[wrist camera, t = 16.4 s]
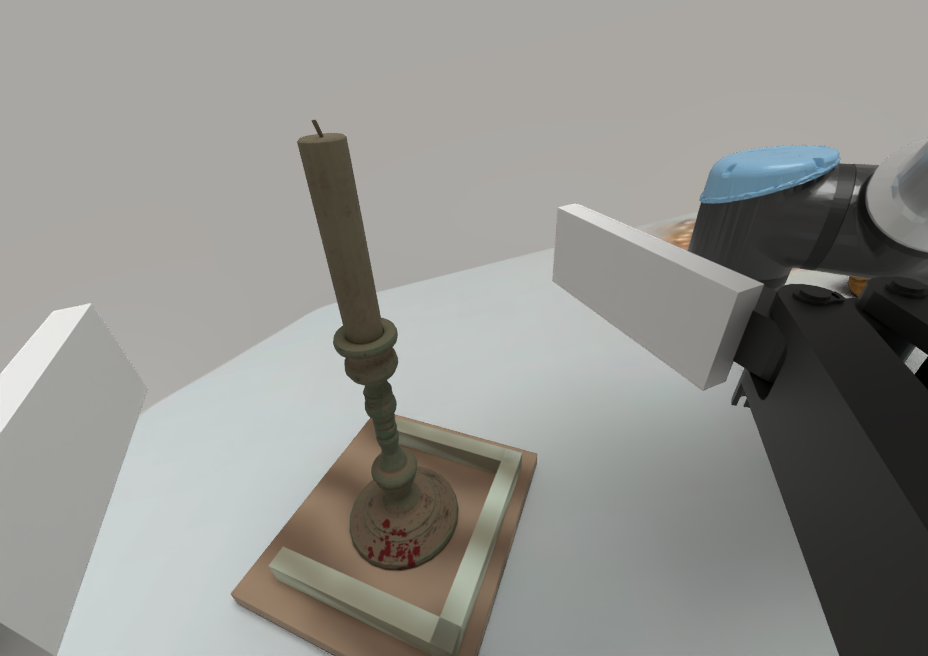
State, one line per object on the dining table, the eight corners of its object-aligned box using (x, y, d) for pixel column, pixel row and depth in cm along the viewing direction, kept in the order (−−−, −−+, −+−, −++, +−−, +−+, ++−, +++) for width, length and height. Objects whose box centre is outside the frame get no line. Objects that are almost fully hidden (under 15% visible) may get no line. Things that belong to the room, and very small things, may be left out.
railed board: (379, 419, 46) (374, 396, 44) (536, 464, 40) (538, 439, 38) (237, 603, 31) (220, 580, 29) (457, 721, 25) (453, 702, 23)
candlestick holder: (330, 559, 32) (146, 138, 15) (374, 463, 39) (283, 110, 23) (444, 581, 30) (376, 133, 13) (468, 476, 37) (442, 104, 21)
